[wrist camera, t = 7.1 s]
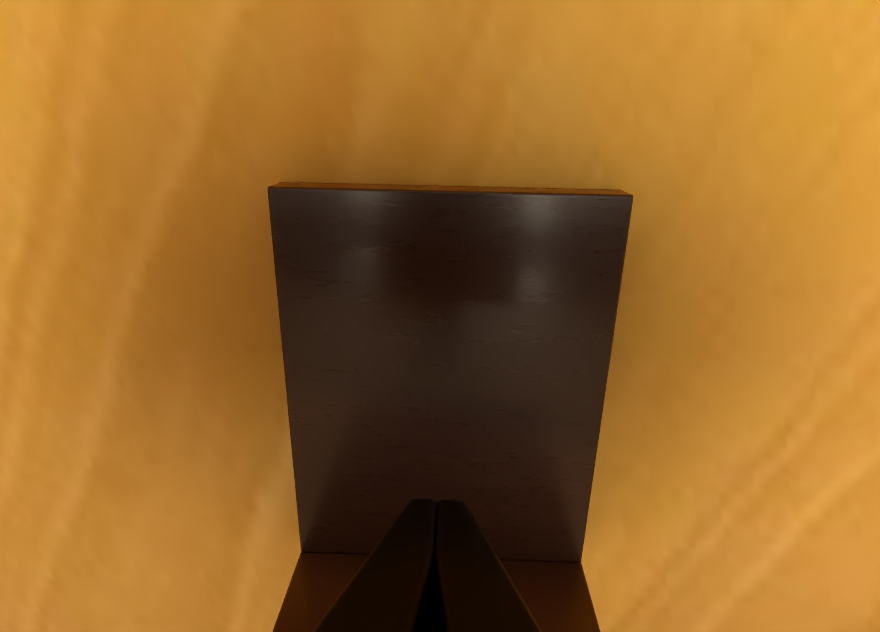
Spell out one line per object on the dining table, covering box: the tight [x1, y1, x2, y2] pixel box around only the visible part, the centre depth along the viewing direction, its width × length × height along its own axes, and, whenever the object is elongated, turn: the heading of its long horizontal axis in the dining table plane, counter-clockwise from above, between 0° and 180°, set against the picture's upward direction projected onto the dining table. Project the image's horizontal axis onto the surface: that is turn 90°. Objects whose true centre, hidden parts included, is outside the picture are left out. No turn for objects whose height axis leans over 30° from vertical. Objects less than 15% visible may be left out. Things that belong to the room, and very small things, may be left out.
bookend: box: [268, 182, 633, 632], centre depth 11 cm, size 11×9×12 cm
